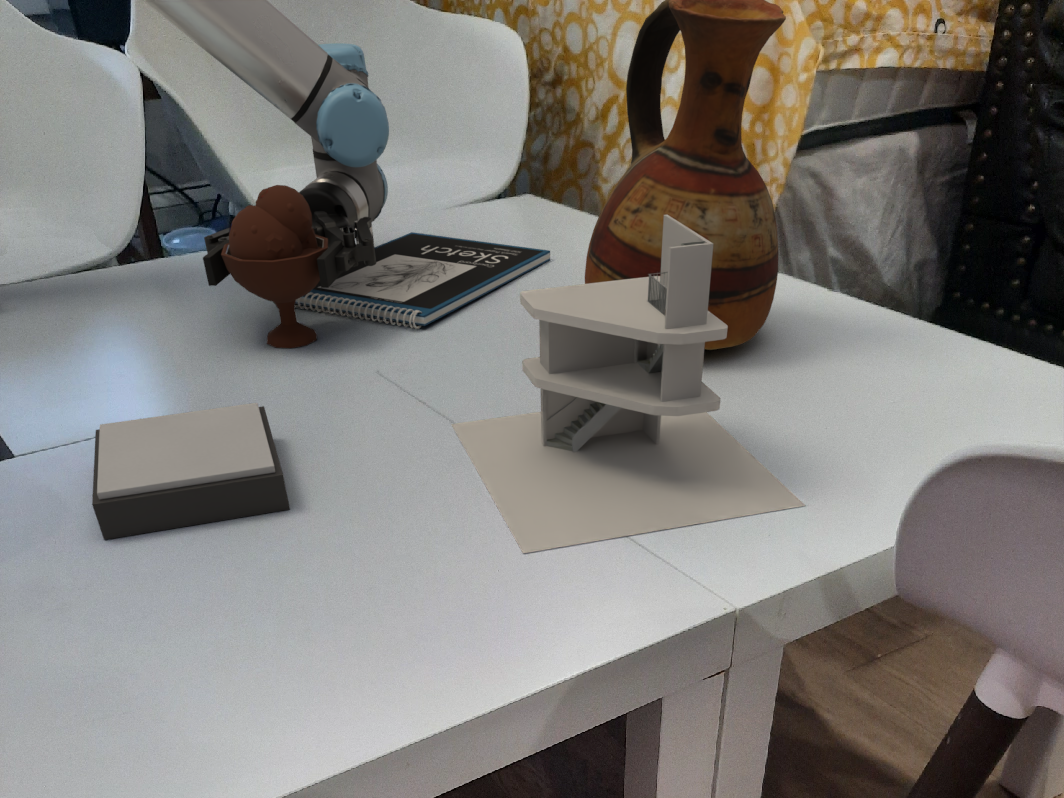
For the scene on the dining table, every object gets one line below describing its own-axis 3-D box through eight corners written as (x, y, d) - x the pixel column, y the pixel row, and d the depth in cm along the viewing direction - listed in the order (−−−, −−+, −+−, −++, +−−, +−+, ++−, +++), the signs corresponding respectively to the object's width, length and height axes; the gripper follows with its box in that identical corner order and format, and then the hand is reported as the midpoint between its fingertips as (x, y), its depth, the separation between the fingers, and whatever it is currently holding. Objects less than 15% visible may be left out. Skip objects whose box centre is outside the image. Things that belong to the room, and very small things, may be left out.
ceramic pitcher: (683, 386, 97) (710, 6, 77) (544, 334, 108) (538, -7, 89) (809, 336, 106) (861, -13, 87) (669, 293, 118) (688, -23, 99)
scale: (106, 462, 86) (93, 422, 84) (270, 438, 90) (262, 399, 87) (104, 540, 76) (89, 497, 74) (290, 509, 79) (281, 467, 77)
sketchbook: (550, 261, 130) (550, 244, 128) (420, 334, 110) (418, 314, 108) (412, 241, 138) (410, 225, 137) (267, 305, 118) (264, 287, 116)
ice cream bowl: (303, 315, 115) (279, 168, 105) (362, 338, 109) (341, 185, 99) (221, 339, 109) (188, 187, 100) (279, 365, 103) (248, 205, 93)
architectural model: (684, 391, 96) (700, 181, 84) (805, 505, 78) (846, 259, 66) (451, 424, 91) (433, 206, 80) (523, 553, 73) (514, 297, 62)
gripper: (429, 251, 119) (384, 313, 102) (238, 249, 121) (163, 308, 105) (423, 181, 114) (375, 233, 97) (224, 180, 116) (144, 231, 100)
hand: (265, 272), depth 101 cm, fingers closed on ice cream bowl, 11 cm apart
